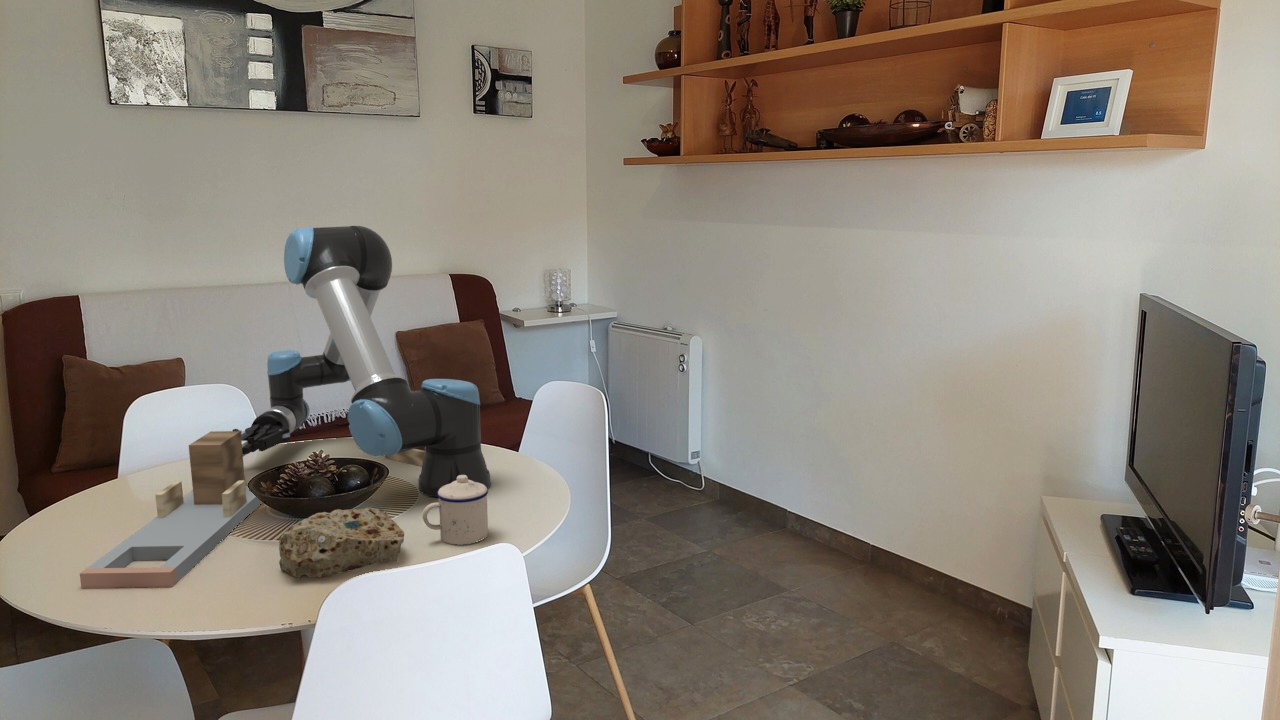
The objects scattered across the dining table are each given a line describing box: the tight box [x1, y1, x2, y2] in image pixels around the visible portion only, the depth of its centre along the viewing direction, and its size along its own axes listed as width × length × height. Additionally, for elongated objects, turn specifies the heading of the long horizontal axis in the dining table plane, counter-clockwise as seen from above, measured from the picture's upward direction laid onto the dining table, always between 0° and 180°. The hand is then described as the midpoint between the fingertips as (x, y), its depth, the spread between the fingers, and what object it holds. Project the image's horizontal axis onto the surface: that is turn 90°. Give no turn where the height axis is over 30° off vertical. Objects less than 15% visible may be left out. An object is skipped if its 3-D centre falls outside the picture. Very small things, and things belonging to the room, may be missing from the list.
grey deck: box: [79, 485, 263, 589], centre depth 170 cm, size 43×14×2 cm, turn 2°
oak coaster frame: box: [384, 449, 425, 467], centre depth 221 cm, size 14×16×4 cm
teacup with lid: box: [422, 475, 489, 546], centre depth 168 cm, size 12×9×12 cm
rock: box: [278, 507, 405, 578], centre depth 158 cm, size 21×14×10 cm
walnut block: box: [188, 430, 246, 505], centre depth 183 cm, size 10×6×12 cm, turn 2°
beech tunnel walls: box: [154, 479, 247, 518], centre depth 176 cm, size 8×13×4 cm, turn 92°
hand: (232, 455), depth 191 cm, fingers closed
